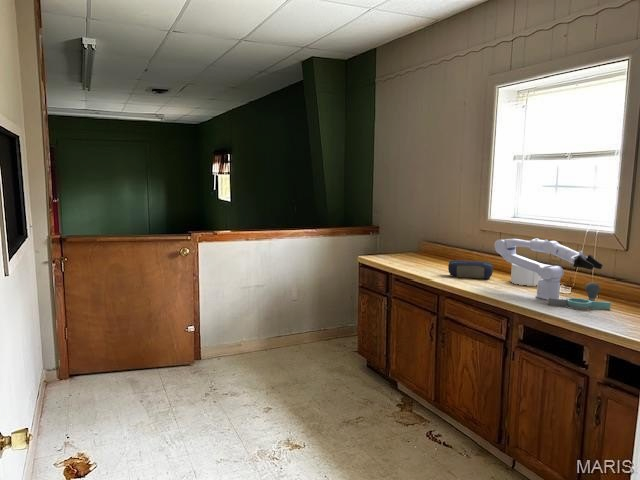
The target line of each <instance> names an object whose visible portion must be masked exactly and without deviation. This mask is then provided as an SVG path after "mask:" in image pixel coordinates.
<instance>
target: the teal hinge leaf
mask: <svg viewBox="0 0 640 480" xmlns="http://www.w3.org/2000/svg"><path fill="white" fill-rule="evenodd" d="M566 299H568V300H567V304H570V305H574V306H583V307H588V306H592V309H599V310H611V302H609V301H597V300H595V301H590V300H589V299H585V298H582V297H581V298H580V297H569V298H566ZM573 301H574V302H573ZM579 302H583V303H579Z"/></svg>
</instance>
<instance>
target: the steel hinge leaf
mask: <svg viewBox="0 0 640 480" xmlns="http://www.w3.org/2000/svg"><path fill="white" fill-rule="evenodd" d="M567 300H568V299H567V298H563V299H552V298H548V300H547V305H548V306H552V307H566V306H567V308H568V307H569V308H570V309H572V310H579V311H580V310H581V311H588V310H592V309H593V308H592V306H588V307H583V306H574V305H570V304H567ZM573 302H574V301H573ZM579 303H583V302H579ZM569 308H568V309H569Z"/></svg>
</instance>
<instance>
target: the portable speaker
mask: <svg viewBox="0 0 640 480" xmlns="http://www.w3.org/2000/svg"><path fill="white" fill-rule="evenodd" d="M447 265H448V267H447V269H448V273H449V275H450V276H451V277H454V278H463V279H464V278H467V279H479V278H480V279H481V280H482V279H483V280H488V279H490V278H491V276H493V273H494V266H493V263H492V262H488V261H480V260H478V261H477V260H461V259H453V260H450V261H449V262H448V264H447ZM480 279H479V280H480Z"/></svg>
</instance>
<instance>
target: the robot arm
mask: <svg viewBox="0 0 640 480" xmlns="http://www.w3.org/2000/svg"><path fill="white" fill-rule="evenodd" d="M493 247H494V250H495V252H496V253H497V254H499V255H500V256H501V257H502V258H503V259H504V260H505V262H507V263H509V264H511V265H512V264H515V265H517V266H520V267H523V268H525V269H528V270H531V271H533V272H536V273H538V275H539V276H541V279H540V280H539V281H538V285H537V286H536V287H537V288H536V295H535V297H536V298H539V299H543V300H547V301H548V298H552V299H564V298H562V297H560V288H561V279H562V278H563V276H564V275H565V273H564V269H563V268H562V266H559V265H551V264H545V263H541V262H538V261H536V260H534V259H529V258H527V257H524V256H522V255H519V254H517V250H516V249H517V247H518V248H519V247H520V248H521V247H522V248H529V249H530V251H534V252H539V253H540V252H541V253H545V254H547V255H550V254H551V255H554V256H556V257H557V258H559V259H562V260H565V261H566V262H569V264H573V265H572V266H573V267H574V268H583V269H587V270H591V271H593V270H594V269H597V270H601V269H602V268H603V264H602V263H601V262H600V261H598V260H596V259H595V257H594V256H593V255H592V254H588V255H587V256H586V255H585V254H584V251H583V250H579V251H576V250H574V249H572V248H569V247H568V246H565V245H562V244H560V243H559V242H558V241H556V240H550V241H549V239H540V238H538V237H537V238H536V237H535V238H533V239H530V240H527V239H526V240H525V239H519V238H507V239H497V240H495V242H494V245H493Z"/></svg>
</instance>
